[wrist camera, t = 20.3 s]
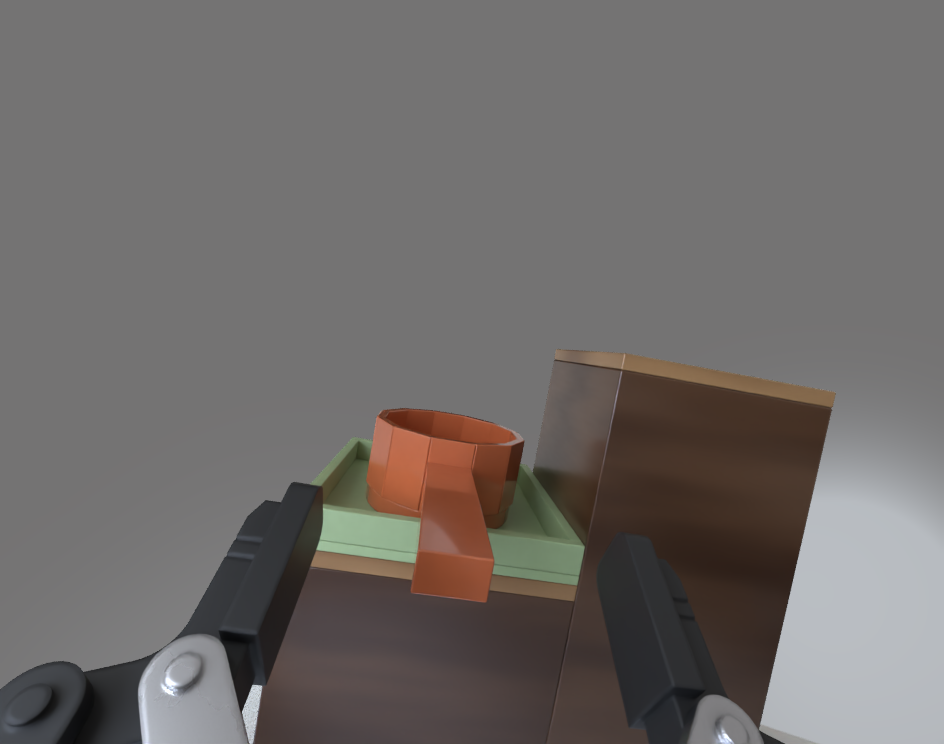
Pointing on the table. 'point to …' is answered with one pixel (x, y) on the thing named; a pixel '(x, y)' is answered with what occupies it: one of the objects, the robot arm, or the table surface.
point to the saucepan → (445, 493)
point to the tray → (394, 536)
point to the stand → (578, 606)
